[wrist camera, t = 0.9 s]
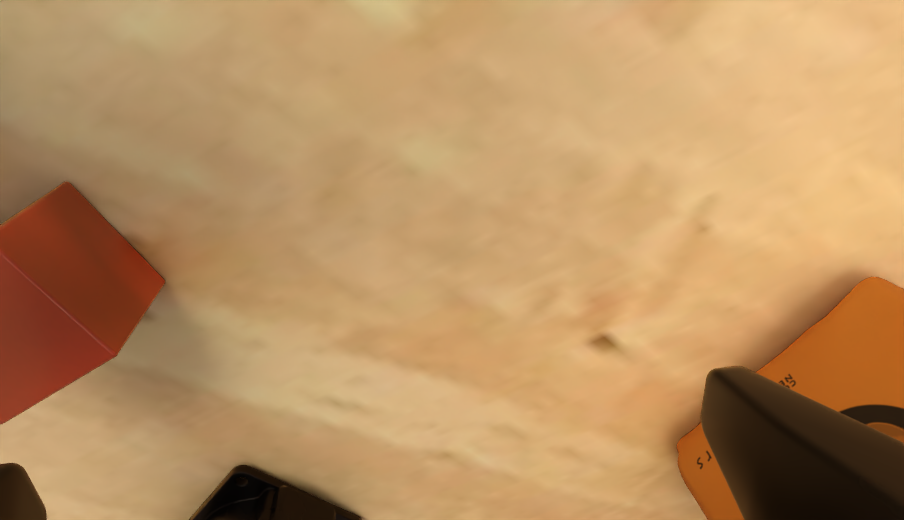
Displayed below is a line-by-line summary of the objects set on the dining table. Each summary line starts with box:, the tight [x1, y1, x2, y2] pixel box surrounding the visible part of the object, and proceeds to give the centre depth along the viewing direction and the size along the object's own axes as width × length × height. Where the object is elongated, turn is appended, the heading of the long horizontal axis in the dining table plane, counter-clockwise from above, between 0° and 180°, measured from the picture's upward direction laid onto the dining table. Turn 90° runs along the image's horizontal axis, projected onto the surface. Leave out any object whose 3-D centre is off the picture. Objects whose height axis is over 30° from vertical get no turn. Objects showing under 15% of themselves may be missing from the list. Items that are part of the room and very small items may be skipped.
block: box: [0, 182, 165, 424], centre depth 18 cm, size 4×4×4 cm
